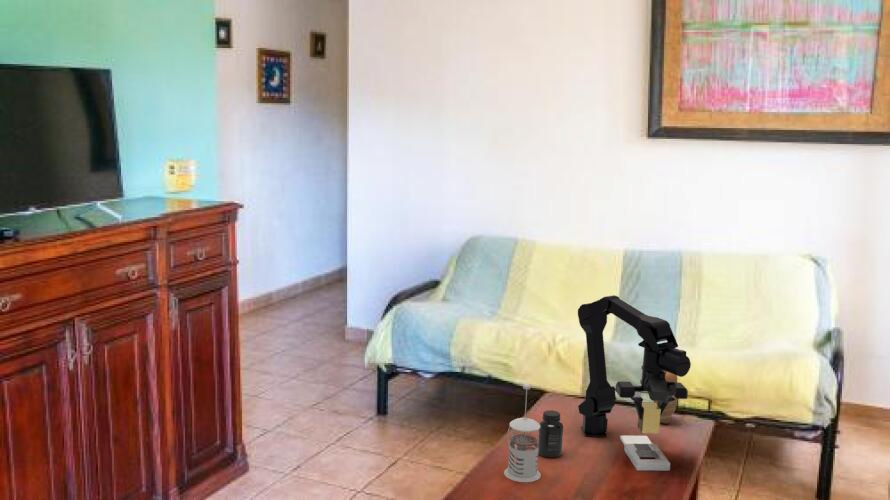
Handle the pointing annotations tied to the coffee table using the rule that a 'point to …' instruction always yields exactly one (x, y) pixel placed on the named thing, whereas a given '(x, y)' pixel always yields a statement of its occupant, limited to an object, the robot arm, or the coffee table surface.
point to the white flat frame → (647, 451)
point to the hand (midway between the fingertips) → (648, 419)
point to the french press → (523, 450)
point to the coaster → (635, 440)
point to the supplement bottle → (550, 435)
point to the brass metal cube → (649, 418)
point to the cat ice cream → (671, 405)
